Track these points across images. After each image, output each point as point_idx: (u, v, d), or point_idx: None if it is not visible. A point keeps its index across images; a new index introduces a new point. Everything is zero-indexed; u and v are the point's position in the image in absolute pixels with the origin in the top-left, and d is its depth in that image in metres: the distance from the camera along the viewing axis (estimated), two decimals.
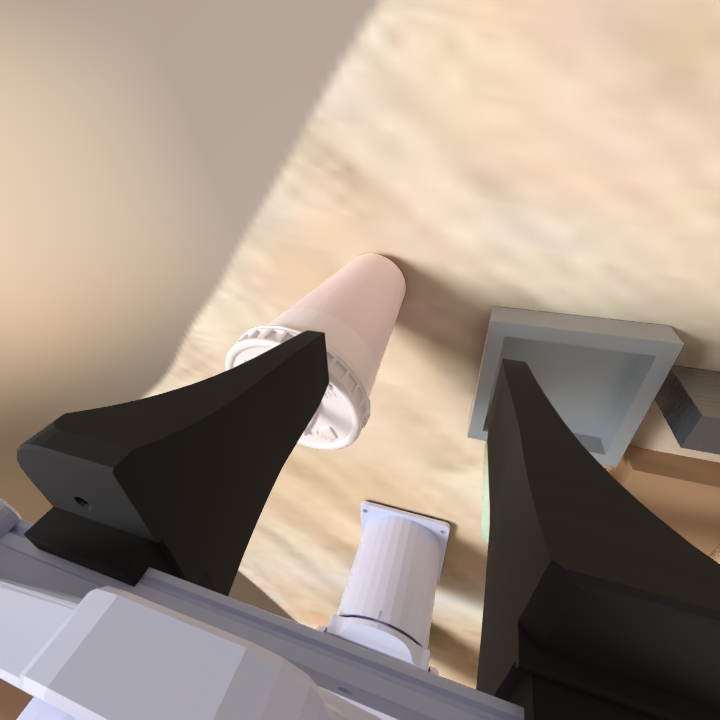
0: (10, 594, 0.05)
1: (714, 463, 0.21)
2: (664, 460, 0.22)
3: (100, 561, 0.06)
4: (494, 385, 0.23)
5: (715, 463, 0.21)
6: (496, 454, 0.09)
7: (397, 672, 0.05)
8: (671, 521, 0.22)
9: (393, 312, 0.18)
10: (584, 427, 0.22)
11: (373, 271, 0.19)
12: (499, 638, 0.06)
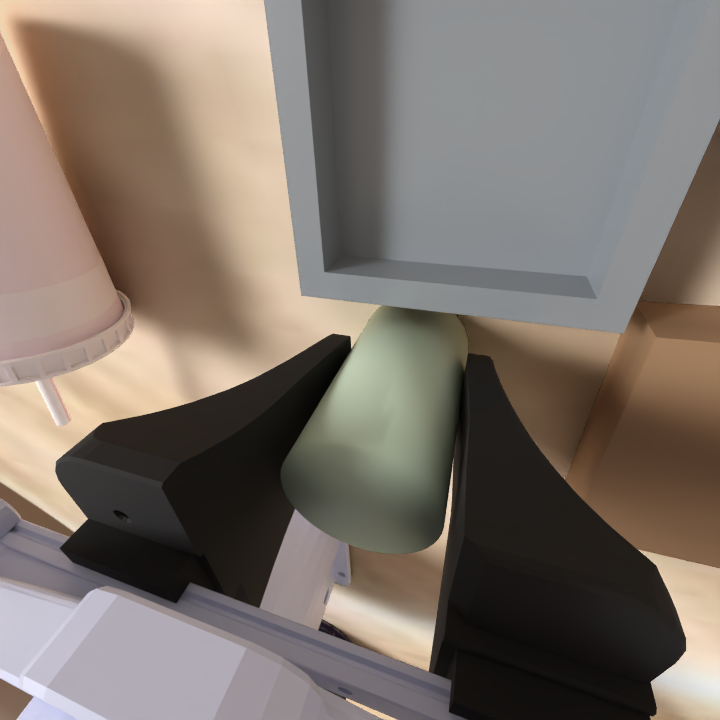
0: (10, 594, 0.05)
1: None
2: None
3: (141, 577, 0.06)
4: (344, 162, 0.10)
5: None
6: (458, 446, 0.09)
7: (397, 672, 0.05)
8: None
9: None
10: (549, 251, 0.10)
11: None
12: (441, 619, 0.06)
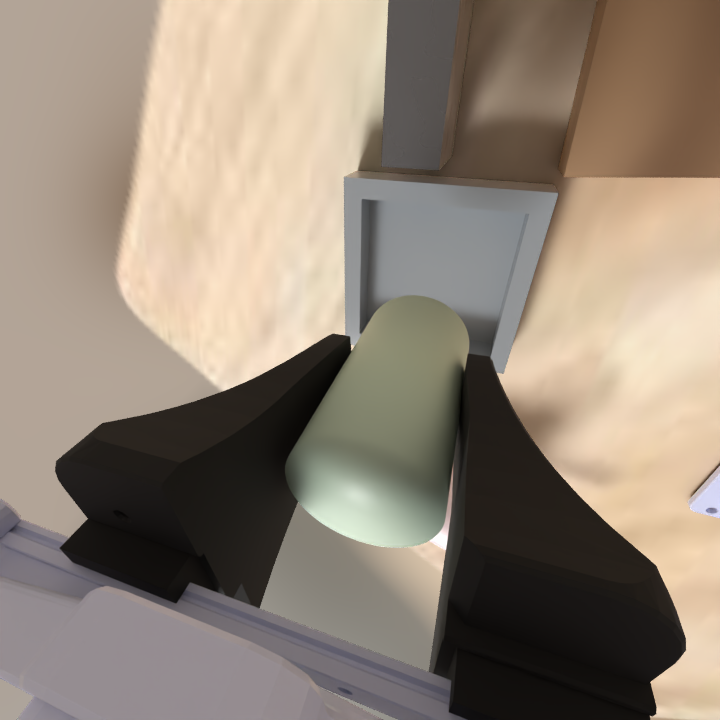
0: (10, 594, 0.05)
1: (595, 13, 0.12)
2: (574, 111, 0.13)
3: (141, 577, 0.06)
4: None
5: (595, 10, 0.12)
6: (458, 446, 0.09)
7: (397, 672, 0.05)
8: None
9: None
10: (507, 229, 0.16)
11: None
12: (441, 618, 0.06)
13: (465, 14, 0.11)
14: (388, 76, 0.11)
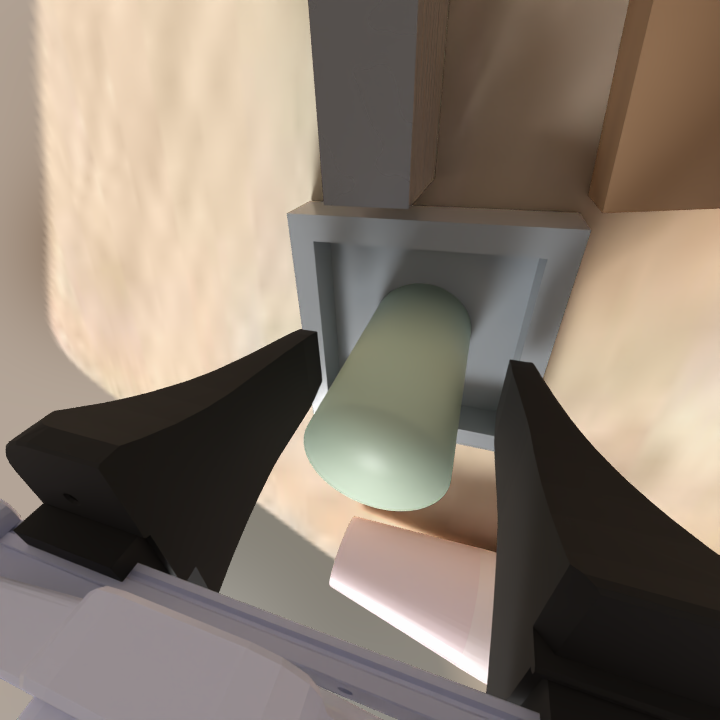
0: (10, 594, 0.05)
1: None
2: (611, 114, 0.09)
3: (88, 557, 0.06)
4: None
5: None
6: (504, 456, 0.09)
7: (397, 672, 0.05)
8: None
9: (385, 606, 0.18)
10: (515, 274, 0.12)
11: None
12: (511, 642, 0.06)
13: None
14: (318, 68, 0.07)
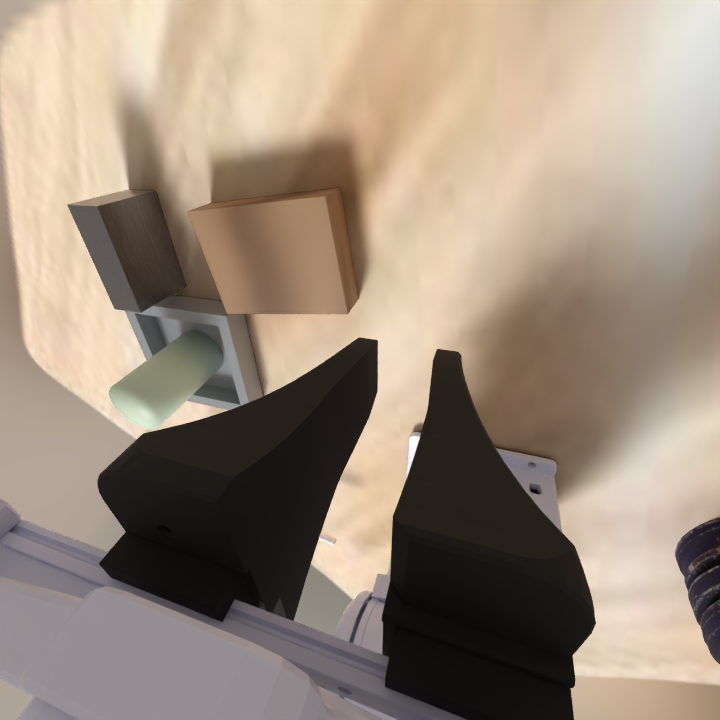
0: (10, 594, 0.05)
1: None
2: None
3: (187, 595, 0.06)
4: (221, 385, 0.29)
5: None
6: None
7: None
8: (260, 260, 0.20)
9: None
10: None
11: None
12: None
13: (138, 234, 0.21)
14: (98, 269, 0.21)
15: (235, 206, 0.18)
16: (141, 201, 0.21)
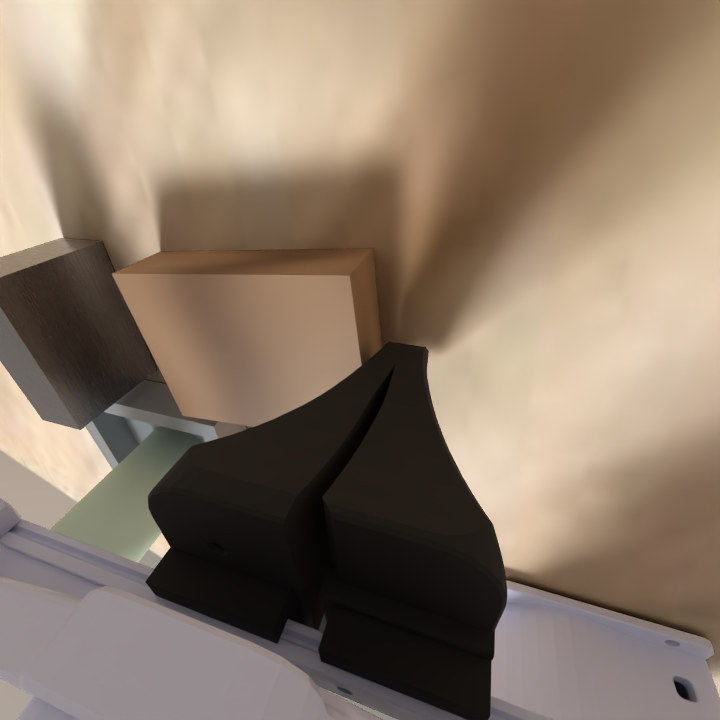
0: (10, 594, 0.05)
1: None
2: None
3: (241, 616, 0.05)
4: None
5: None
6: None
7: None
8: (232, 356, 0.12)
9: None
10: None
11: None
12: None
13: (72, 313, 0.13)
14: (9, 369, 0.13)
15: (189, 273, 0.11)
16: (76, 261, 0.13)
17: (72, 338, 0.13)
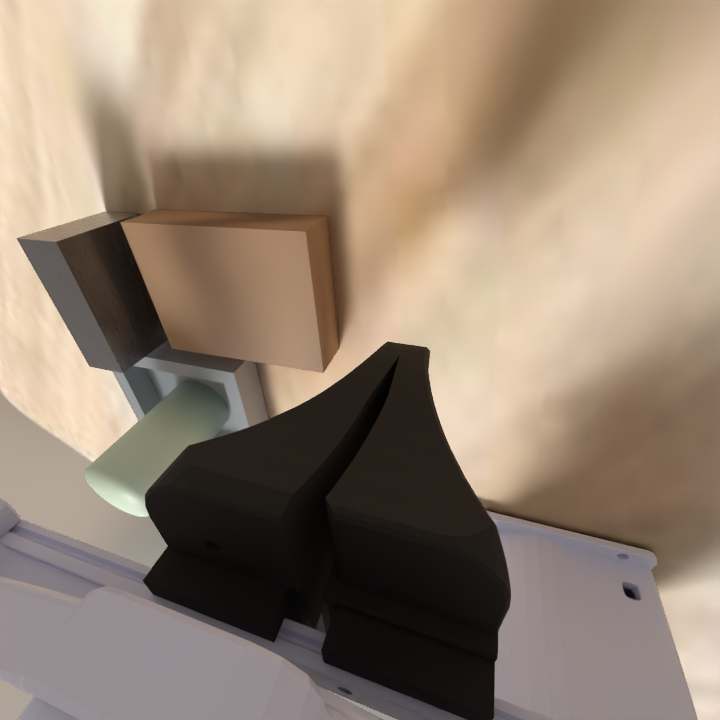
0: (10, 594, 0.05)
1: None
2: None
3: (238, 615, 0.05)
4: None
5: None
6: None
7: None
8: (215, 295, 0.15)
9: None
10: None
11: None
12: None
13: (118, 272, 0.16)
14: (65, 319, 0.16)
15: (184, 225, 0.14)
16: (121, 229, 0.16)
17: (117, 294, 0.16)
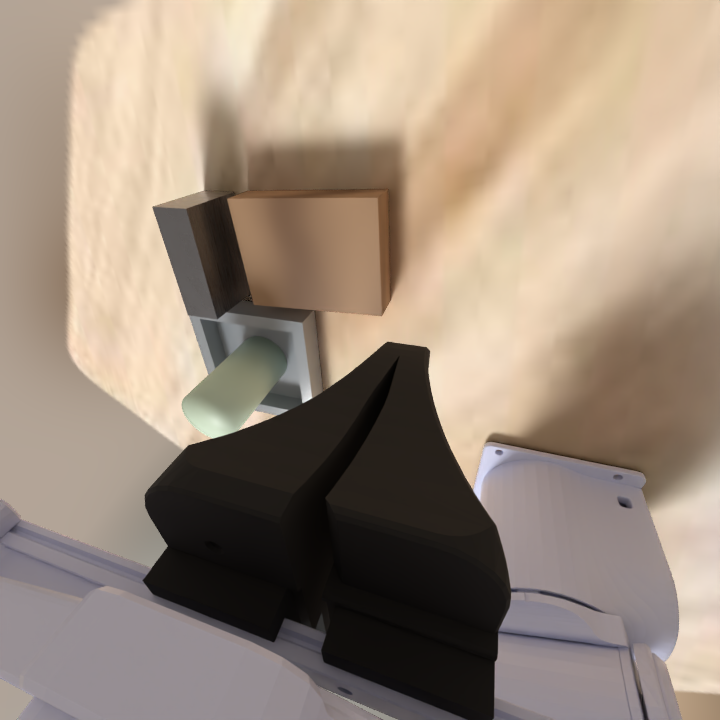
0: (10, 594, 0.05)
1: None
2: None
3: (238, 614, 0.05)
4: (281, 392, 0.28)
5: None
6: None
7: None
8: (298, 254, 0.19)
9: None
10: None
11: None
12: None
13: (218, 237, 0.20)
14: (176, 274, 0.20)
15: (280, 198, 0.18)
16: (222, 203, 0.20)
17: (217, 254, 0.20)
